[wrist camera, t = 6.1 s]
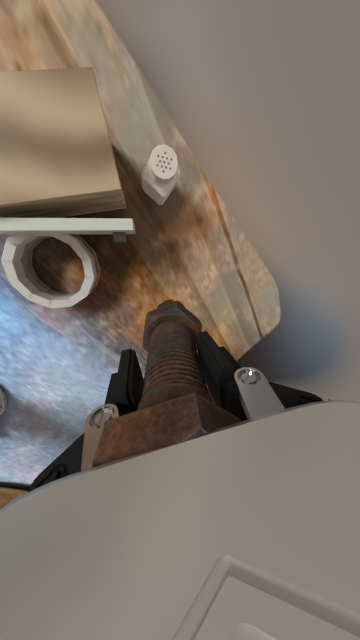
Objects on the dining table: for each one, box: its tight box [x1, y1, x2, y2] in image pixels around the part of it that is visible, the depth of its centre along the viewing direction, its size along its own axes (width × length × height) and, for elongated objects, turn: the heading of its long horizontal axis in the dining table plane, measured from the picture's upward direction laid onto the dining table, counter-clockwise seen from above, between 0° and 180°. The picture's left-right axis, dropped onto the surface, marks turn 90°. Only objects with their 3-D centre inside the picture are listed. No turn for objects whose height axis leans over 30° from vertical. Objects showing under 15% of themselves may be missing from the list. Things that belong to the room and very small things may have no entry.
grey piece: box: [0, 218, 136, 308], centre depth 25 cm, size 12×18×8 cm, turn 91°
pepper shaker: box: [142, 145, 180, 205], centre depth 25 cm, size 4×4×10 cm
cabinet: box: [0, 67, 127, 297], centre depth 24 cm, size 21×19×12 cm
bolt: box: [92, 299, 242, 467], centre depth 12 cm, size 6×5×15 cm
